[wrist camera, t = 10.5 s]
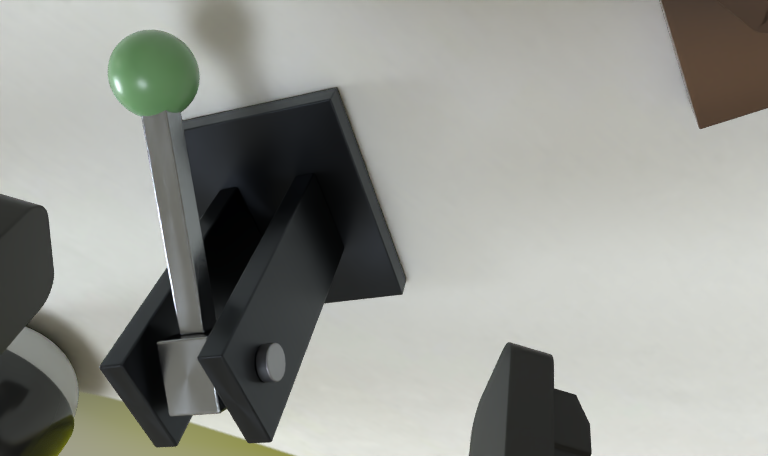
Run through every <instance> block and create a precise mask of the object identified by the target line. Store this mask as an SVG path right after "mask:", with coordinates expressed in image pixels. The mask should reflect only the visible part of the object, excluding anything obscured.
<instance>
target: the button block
mask: <svg viewBox="0 0 768 456" xmlns="http://www.w3.org/2000/svg"><path fill="white" fill-rule="evenodd" d="M659 1H660V4H661V8H662V11H663V14H664V18H665V21H666V24H667V28H668V31H669V34H670V38H671V41H672V44H673V48H674V51H675V55H676V58H677V61H678V65H679V68H680V71H681V75H682V78H683V81H684V85H685V88H686V91H687V95H688V98H689V101H690V104H691V107H692V110H693V113H694V115H695V118H696V121H697V124H698V126H699V128H700V129H703V128H706V127H709V126H712V125H715V124H718V123H722V122H725V121H728V120H731V119H734V118H738V117H741V116H744V115H747V114H750V113H753V112H757V111H760V110H763V109H766V108H768V0H659Z"/></svg>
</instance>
